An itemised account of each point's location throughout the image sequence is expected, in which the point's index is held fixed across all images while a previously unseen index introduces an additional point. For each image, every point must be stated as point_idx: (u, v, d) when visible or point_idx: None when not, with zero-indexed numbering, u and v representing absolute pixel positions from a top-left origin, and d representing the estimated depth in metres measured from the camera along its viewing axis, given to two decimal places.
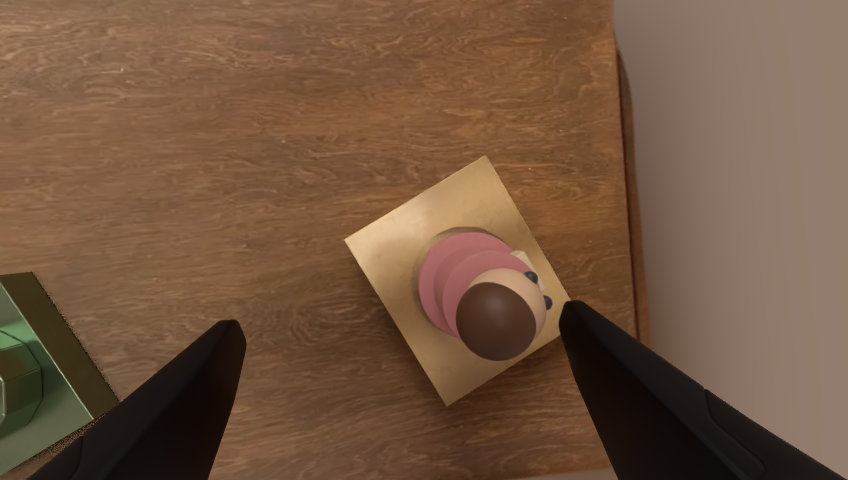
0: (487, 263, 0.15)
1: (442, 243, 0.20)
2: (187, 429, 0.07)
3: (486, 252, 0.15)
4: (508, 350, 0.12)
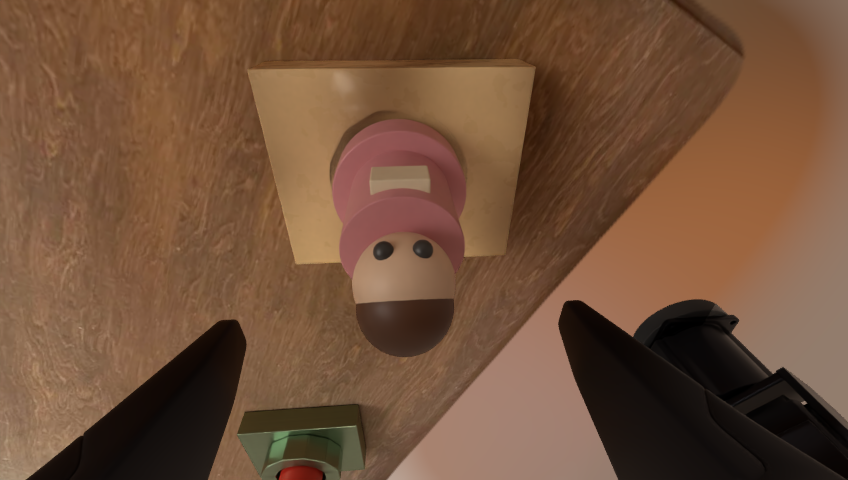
0: (357, 239, 0.12)
1: (335, 204, 0.16)
2: (187, 429, 0.07)
3: (343, 234, 0.12)
4: (432, 343, 0.10)
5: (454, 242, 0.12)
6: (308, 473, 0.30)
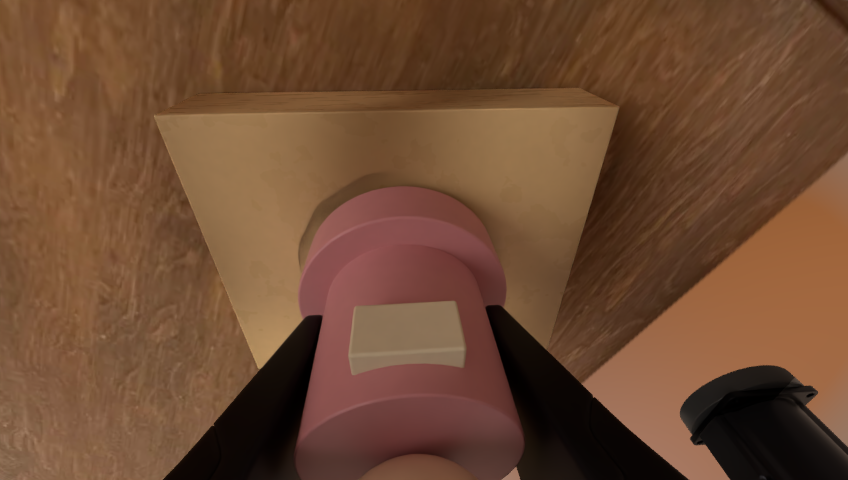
0: (326, 453, 0.06)
1: (303, 317, 0.10)
2: (297, 421, 0.07)
3: (299, 449, 0.06)
4: None
5: (506, 446, 0.07)
6: None
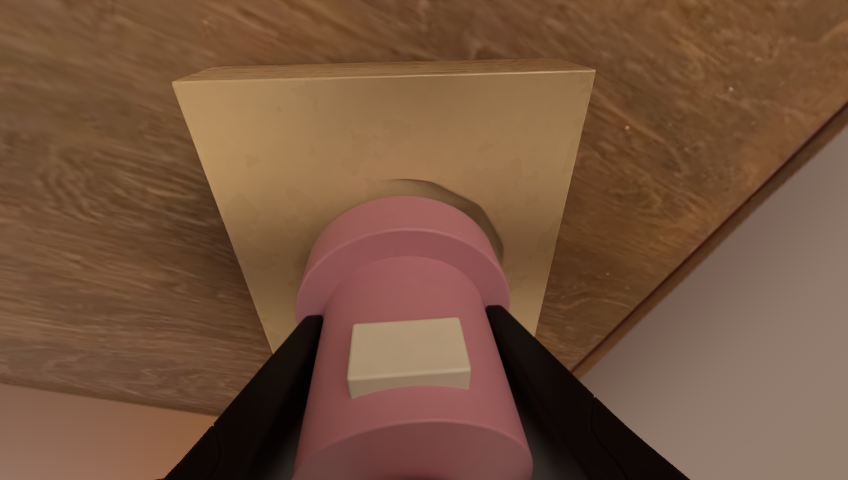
0: None
1: None
2: (296, 421, 0.07)
3: (295, 477, 0.06)
4: None
5: (514, 470, 0.06)
6: None
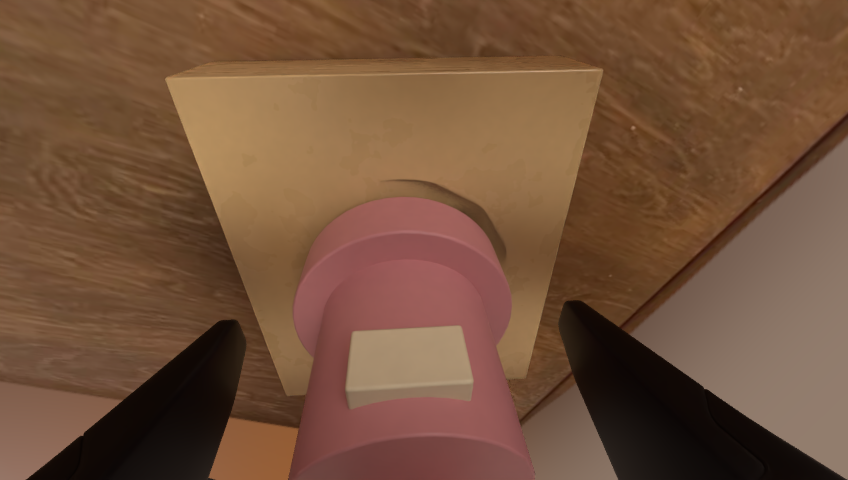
0: None
1: (298, 334, 0.10)
2: (187, 429, 0.07)
3: None
4: None
5: None
6: None
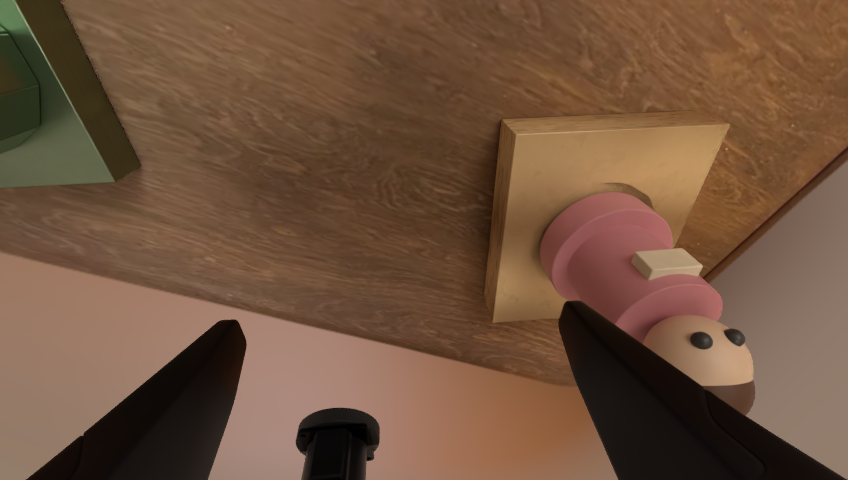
0: (633, 317, 0.14)
1: (553, 269, 0.18)
2: (187, 429, 0.07)
3: (624, 315, 0.14)
4: None
5: (712, 316, 0.14)
6: None
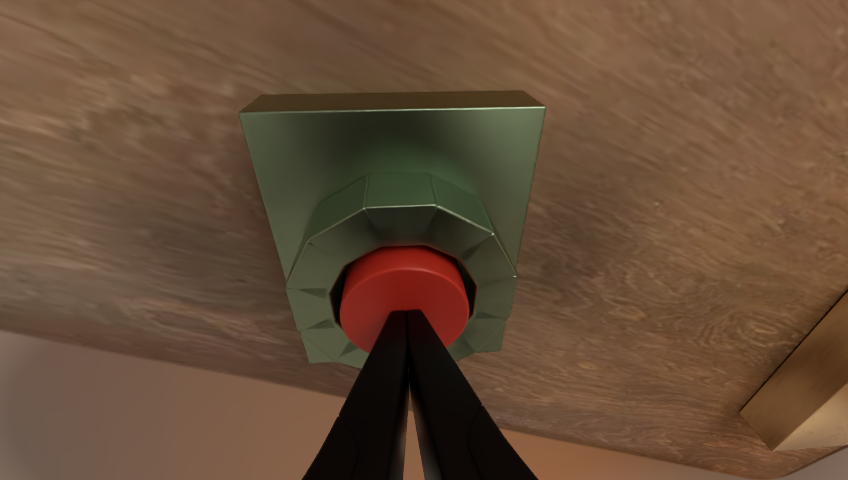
0: None
1: None
2: (403, 413, 0.08)
3: None
4: None
5: None
6: None
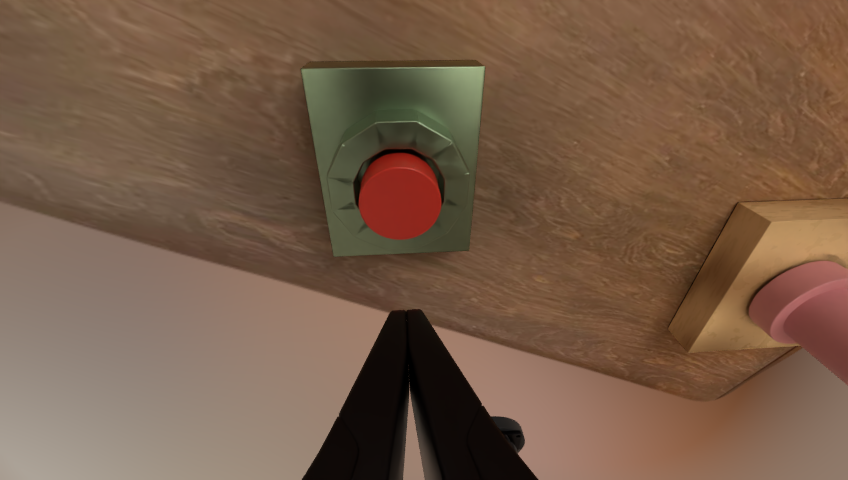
0: None
1: (776, 318, 0.23)
2: (402, 413, 0.08)
3: None
4: None
5: None
6: None
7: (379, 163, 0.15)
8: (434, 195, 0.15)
